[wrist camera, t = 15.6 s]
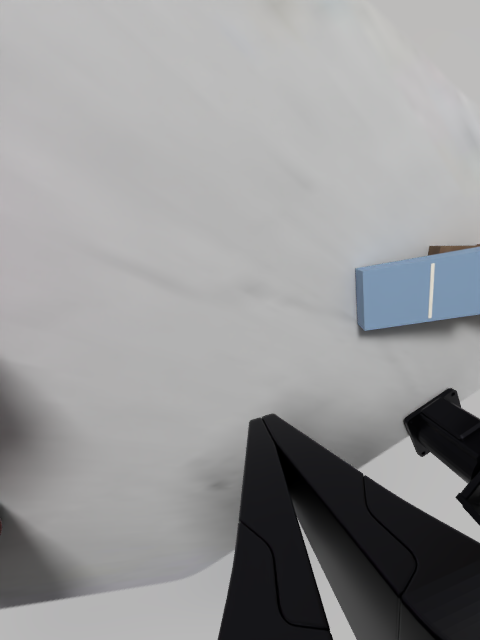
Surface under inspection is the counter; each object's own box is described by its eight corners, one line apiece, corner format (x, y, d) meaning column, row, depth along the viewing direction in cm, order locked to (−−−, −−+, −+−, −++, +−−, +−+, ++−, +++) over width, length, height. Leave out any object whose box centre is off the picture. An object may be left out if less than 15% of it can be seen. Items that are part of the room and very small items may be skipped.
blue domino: (355, 268, 21) (489, 244, 19) (357, 323, 22) (481, 305, 21) (363, 271, 19) (509, 246, 18) (364, 330, 21) (499, 311, 19)
